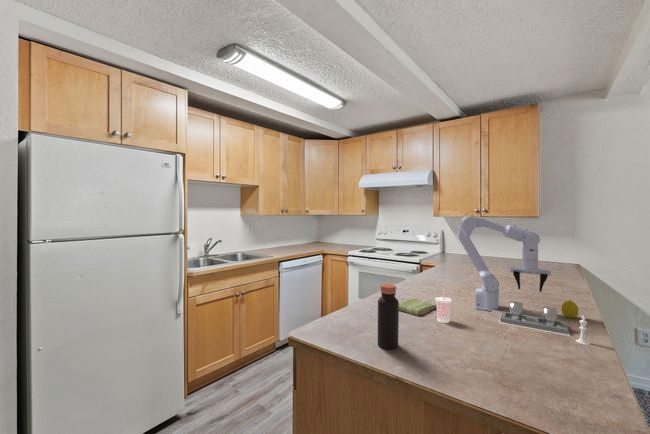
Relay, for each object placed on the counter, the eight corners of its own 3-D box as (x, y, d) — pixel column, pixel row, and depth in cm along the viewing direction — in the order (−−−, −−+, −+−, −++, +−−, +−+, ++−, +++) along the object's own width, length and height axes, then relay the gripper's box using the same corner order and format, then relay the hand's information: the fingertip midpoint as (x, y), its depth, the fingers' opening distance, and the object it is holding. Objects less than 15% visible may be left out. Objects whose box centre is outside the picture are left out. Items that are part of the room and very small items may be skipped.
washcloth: (438, 308, 139) (438, 301, 139) (419, 318, 127) (419, 310, 126) (413, 302, 148) (413, 296, 148) (393, 310, 136) (393, 303, 136)
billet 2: (542, 327, 113) (543, 309, 113) (542, 323, 117) (542, 306, 117) (557, 330, 111) (557, 311, 111) (556, 326, 114) (556, 308, 114)
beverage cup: (453, 320, 122) (454, 286, 122) (447, 324, 118) (448, 289, 118) (438, 317, 127) (439, 284, 126) (432, 320, 122) (433, 286, 122)
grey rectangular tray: (498, 325, 118) (498, 318, 118) (500, 315, 129) (500, 309, 128) (570, 338, 105) (570, 331, 105) (566, 327, 116) (566, 320, 116)
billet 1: (508, 320, 120) (509, 303, 119) (509, 317, 123) (510, 300, 123) (521, 323, 117) (522, 305, 117) (522, 319, 121) (523, 302, 120)
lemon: (581, 322, 121) (581, 302, 121) (565, 321, 122) (566, 301, 122) (573, 317, 127) (573, 298, 127) (558, 316, 128) (558, 298, 128)
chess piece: (588, 342, 102) (588, 313, 102) (595, 349, 98) (596, 318, 97) (570, 340, 104) (571, 312, 104) (577, 346, 99) (577, 317, 99)
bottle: (394, 351, 95) (394, 289, 95) (374, 346, 99) (374, 286, 98) (401, 343, 101) (401, 285, 100) (381, 339, 105) (382, 282, 104)
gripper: (510, 258, 132) (509, 289, 132) (551, 262, 124) (550, 294, 124) (510, 256, 138) (510, 286, 138) (550, 259, 129) (549, 290, 130)
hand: (529, 289), depth 131 cm, fingers open, 7 cm apart
